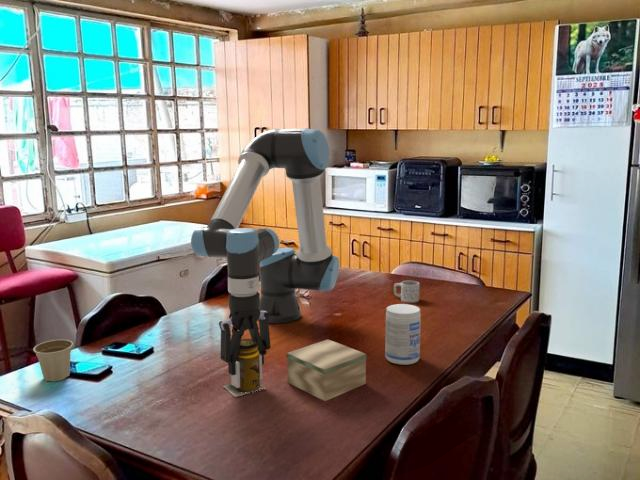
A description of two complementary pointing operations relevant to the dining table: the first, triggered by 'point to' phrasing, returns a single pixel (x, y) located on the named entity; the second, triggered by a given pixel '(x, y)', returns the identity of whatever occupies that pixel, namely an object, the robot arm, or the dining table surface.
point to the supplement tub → (402, 334)
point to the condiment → (247, 369)
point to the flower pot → (54, 359)
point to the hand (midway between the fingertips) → (247, 381)
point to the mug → (408, 291)
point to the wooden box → (326, 369)
